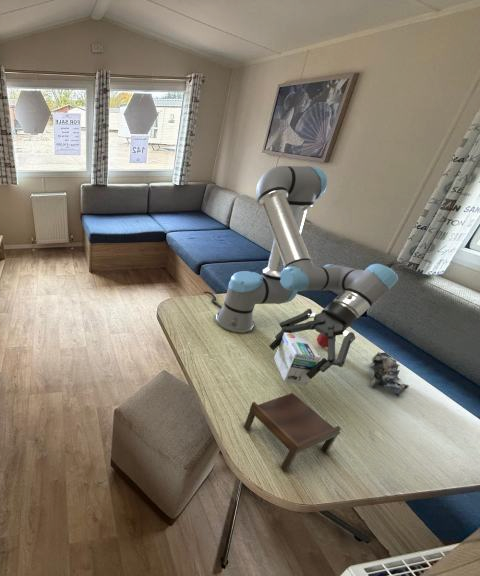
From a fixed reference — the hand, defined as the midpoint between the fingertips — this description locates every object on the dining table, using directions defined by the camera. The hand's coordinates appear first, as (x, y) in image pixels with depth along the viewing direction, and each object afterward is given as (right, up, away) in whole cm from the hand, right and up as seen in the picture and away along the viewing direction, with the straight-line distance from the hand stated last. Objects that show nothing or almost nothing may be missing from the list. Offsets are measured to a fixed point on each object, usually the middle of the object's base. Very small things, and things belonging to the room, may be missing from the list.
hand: (288, 361), depth 92 cm
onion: (+33, -2, +31) cm, 45 cm away
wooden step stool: (-5, -20, -6) cm, 22 cm away
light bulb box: (+2, -4, +3) cm, 6 cm away
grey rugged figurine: (+42, -10, +15) cm, 46 cm away
